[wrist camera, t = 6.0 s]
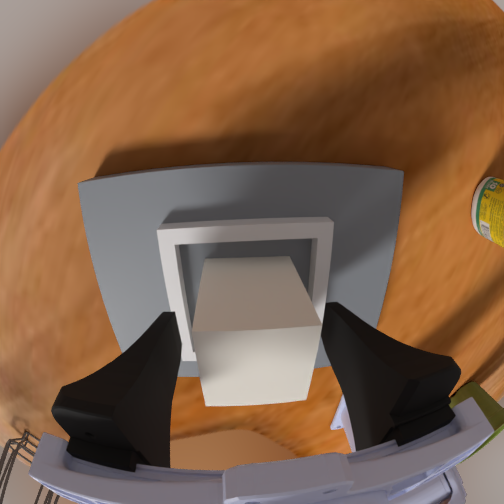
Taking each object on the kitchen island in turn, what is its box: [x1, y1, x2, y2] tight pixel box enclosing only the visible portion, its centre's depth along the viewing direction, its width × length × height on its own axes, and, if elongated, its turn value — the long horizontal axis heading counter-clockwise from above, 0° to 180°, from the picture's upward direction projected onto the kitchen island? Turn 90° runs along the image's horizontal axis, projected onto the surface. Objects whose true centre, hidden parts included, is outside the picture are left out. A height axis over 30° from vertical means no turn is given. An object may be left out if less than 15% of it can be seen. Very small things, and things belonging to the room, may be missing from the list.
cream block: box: [192, 256, 322, 406], centre depth 13 cm, size 4×4×6 cm
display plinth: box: [78, 162, 404, 377], centre depth 16 cm, size 18×14×3 cm
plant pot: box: [449, 382, 504, 465], centre depth 24 cm, size 12×12×11 cm
